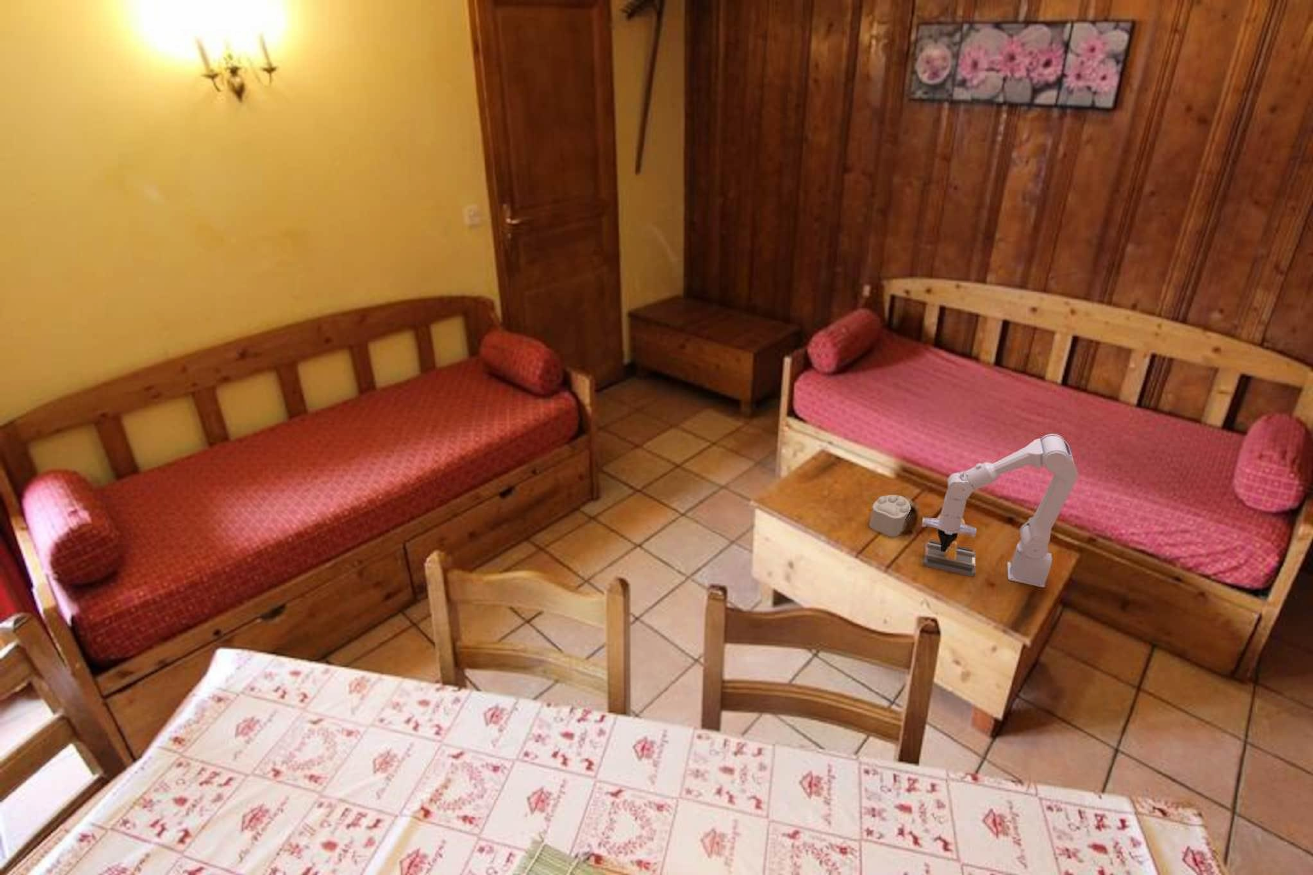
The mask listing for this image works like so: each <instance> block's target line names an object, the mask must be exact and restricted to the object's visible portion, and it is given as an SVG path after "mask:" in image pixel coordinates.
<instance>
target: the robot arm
mask: <svg viewBox="0 0 1313 875" xmlns="http://www.w3.org/2000/svg"><path fill="white" fill-rule="evenodd" d="M1028 465H1029V466H1032V467H1035V468H1037V469H1040V470H1041V469H1042V465H1043V467H1044V468H1045V469H1046V470H1048V471H1049V472H1051V473H1052V474H1053V477H1052V478H1051V480H1050V482H1049V485H1048V486H1047V488H1046V491H1045V493H1044V494H1043V497H1042V499H1041V501H1040V502H1039V505H1038V507H1037V509H1036V510H1035V513H1034V515H1033V516H1032V517H1029V518H1028V519H1027V522H1025V523H1023V524H1022V526H1020V529H1019V535H1020V540H1019V541H1018V542H1017V544H1016V547H1015V550H1014V554H1013V557H1012V561H1008V562H1007V564H1006V567H1007V580H1009V581H1013V582H1016V583H1021V584H1026V585H1030V586H1036V587H1039V588H1045V587H1046V582H1047V580H1048V579H1047V578H1048V576H1049V573H1050V570H1051V566H1052V561H1053V557H1052V556H1053V555H1052V553H1050V552H1049V546H1048V545H1049V542H1050V541H1051V534H1052V533H1051V532H1052V528H1053V526H1054V524H1055V522H1056V520H1057V519H1058V516H1059V515H1060V513H1061V511H1062V508H1063V507H1064V505H1065V503H1066V501H1067V500H1068V497H1069V496H1070V494H1071V491H1072V489H1073V487H1074V486H1075V484H1076V482H1077V481H1078V478H1079V473H1078V470H1077V467H1076V464H1075V461H1074V458H1073V454H1072V451H1071V448H1070V445H1069V443H1068V442H1067V441H1066V439H1065V438H1063V437H1062V436H1061V435H1059V434H1056V433H1050V434H1046V435H1044V436H1042V437H1041V438H1036V439H1034V440H1033V441H1031V442H1030V443H1029V444H1028V445H1026V446H1025V447H1022V448H1021V449H1019V450H1017V451H1015V452H1013V453H1011V454H1010V455H1007V456H1005V457H1003V458H1002V459H1000V460H998V461H997V460H996V461H995V462H993V463H991V462H988V461H985V462H983V463H981V462H979V463H977V464H975V466H974V467H972V468H970V469H967V470H965V471H963V470H962V471H959V472H954V473H952V474H950V475H949V477H947V479H946V483H947V490H946V492H945V493H946V494H945V496H944V498H943V499H944V501H943V503H942V504H943V505H942V509H941V512H940V514H941V516H940V518H938V517H936V518H933V517H931V518H930V517H922V521H921V527H923V528H926V527H928V528H935V529H937V534H938V535H937V536H938V539H939V542H941V551H942V552H946V550H947V548H948V547H949V545H950V544H951V543H952V542H953V541H954V542H955V541H956V540H957V538H958V534H963V535H968V536H970V537H972V538H975V537H976V535H977V527H973V526H970V525H967V524H966V523H965V524H962V523H961V521H962V518H963V516H964V512H965V508H966V504H967V499H968V498H970V497H971V494H972V493H973V492H975V491H976V490H979V489H981V488H984V487H986V486H988V485H990V484H992V483H996V482H997V480H998V478H999V476H1000V475H1003V474H1006V473H1008V472H1012V471H1014V470H1017V469H1019V468H1022V467H1025V466H1028Z"/></svg>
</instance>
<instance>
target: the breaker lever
mask: <svg viewBox="0 0 1313 875" xmlns="http://www.w3.org/2000/svg"><path fill="white" fill-rule="evenodd" d="M957 546H958V542H957V541H955V540H954V541H953V542H952V543H951V544H950V545H949V547H948V550H946V552H945V558H949V559H954V560H956V550H957Z"/></svg>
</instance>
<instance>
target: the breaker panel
mask: <svg viewBox="0 0 1313 875" xmlns="http://www.w3.org/2000/svg"><path fill="white" fill-rule="evenodd" d="M947 550H948V548H947ZM973 550H974V549H973V548H970V547H969V548H968V547H965V546H960V545H957V550H956V560H954V559H949V558H945V552H942V551H941V542H940V541H936V540H931V539H930V540H929V542H928V541H925V545H924V554H923V562H922V563H923V565H922V566H923V567H928V568H932V569H936V570H941V571H945V572H948V573H949V572H950V573H955V574H958V575H962V576H968V577H972V578H974V577H975V575H976V551H973Z"/></svg>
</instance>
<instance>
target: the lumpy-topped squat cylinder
mask: <svg viewBox="0 0 1313 875" xmlns="http://www.w3.org/2000/svg"><path fill="white" fill-rule="evenodd" d="M910 510H912V507H911V503H910V501H909V500H908V499H907V498H906V497H904V496H902V495H897V494H889V495H881V496H879V497H878V498H877V500H875V501H874V503H873V504H872V507H871V513H870V519H869V528H870V529H871V530H873V531H875V532H878V533H881V534H883V535H885V536H887V537H889V538H890V537H891V538H894V537H895V538H896V537H898V535H899V534H900V530H901V527H902V525H903V523H904V521H905V519H906V517H907V515H908V514H909V512H910V513H911V511H910ZM900 535H901V534H900ZM900 535H899V536H900Z"/></svg>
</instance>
